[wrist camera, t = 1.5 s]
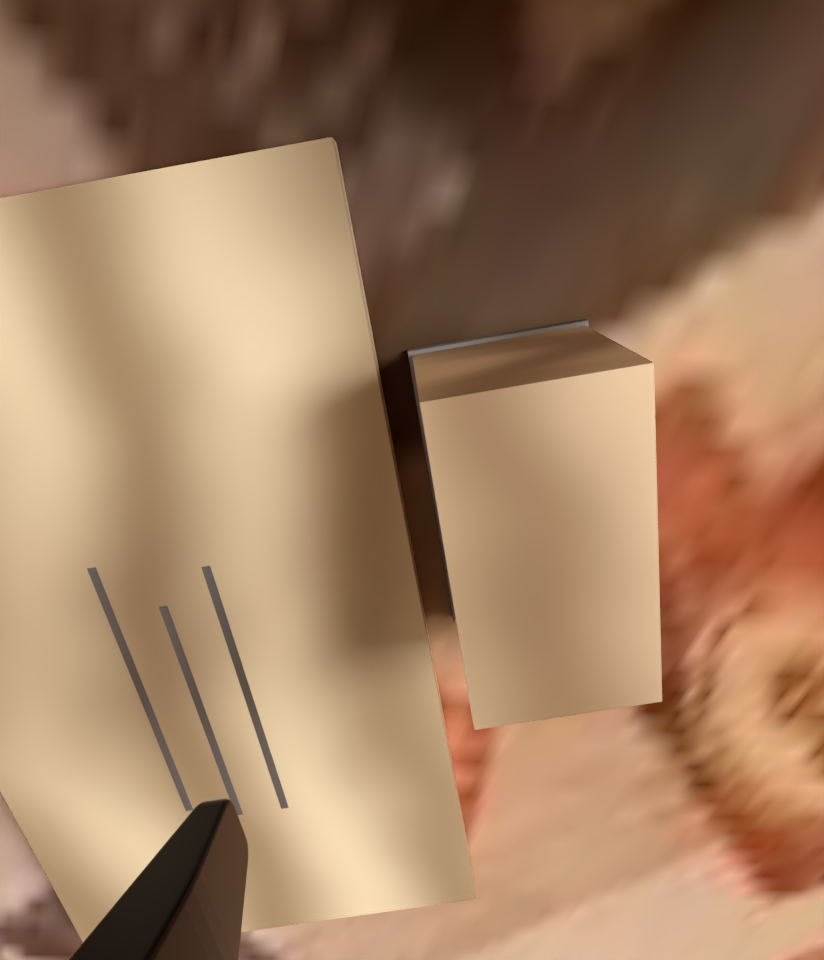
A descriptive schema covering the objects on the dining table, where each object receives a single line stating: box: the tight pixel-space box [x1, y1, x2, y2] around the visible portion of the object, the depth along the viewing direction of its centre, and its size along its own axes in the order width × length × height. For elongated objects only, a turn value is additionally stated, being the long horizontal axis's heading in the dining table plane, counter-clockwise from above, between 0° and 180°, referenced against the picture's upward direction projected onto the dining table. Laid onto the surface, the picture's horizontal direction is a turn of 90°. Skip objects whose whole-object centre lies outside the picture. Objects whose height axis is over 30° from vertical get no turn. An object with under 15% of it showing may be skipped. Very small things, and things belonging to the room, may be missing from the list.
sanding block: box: [407, 319, 662, 730], centre depth 16 cm, size 5×8×5 cm, turn 10°
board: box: [0, 137, 476, 942], centre depth 19 cm, size 14×24×1 cm, turn 10°
